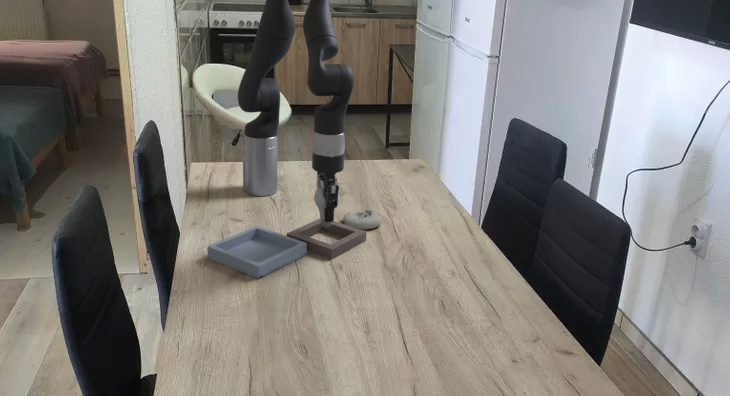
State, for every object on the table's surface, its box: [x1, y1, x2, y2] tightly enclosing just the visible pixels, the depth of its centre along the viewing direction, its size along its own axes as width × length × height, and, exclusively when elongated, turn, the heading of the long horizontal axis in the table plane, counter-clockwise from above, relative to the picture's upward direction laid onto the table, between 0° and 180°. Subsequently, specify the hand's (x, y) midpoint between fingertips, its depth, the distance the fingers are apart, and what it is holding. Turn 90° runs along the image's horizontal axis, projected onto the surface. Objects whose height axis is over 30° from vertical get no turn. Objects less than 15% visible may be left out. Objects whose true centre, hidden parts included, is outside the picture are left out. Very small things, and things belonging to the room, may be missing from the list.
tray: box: [206, 225, 308, 280], centre depth 151 cm, size 16×16×3 cm
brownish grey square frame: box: [286, 217, 367, 260], centre depth 160 cm, size 14×14×2 cm
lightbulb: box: [313, 187, 341, 228], centre depth 157 cm, size 6×6×11 cm
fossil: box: [342, 207, 383, 231], centre depth 173 cm, size 11×4×10 cm
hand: (326, 216), depth 158 cm, fingers closed on lightbulb, 5 cm apart
